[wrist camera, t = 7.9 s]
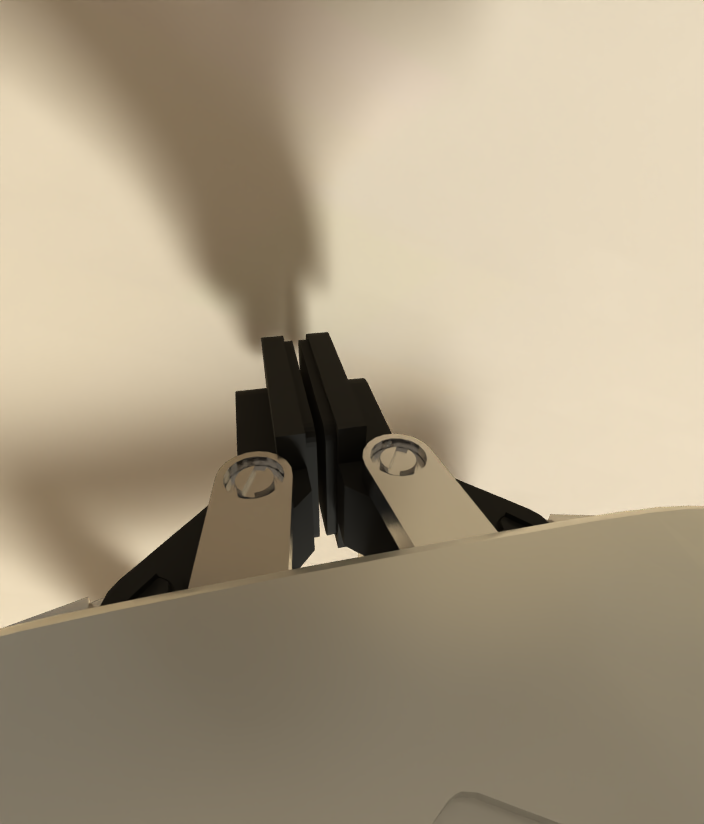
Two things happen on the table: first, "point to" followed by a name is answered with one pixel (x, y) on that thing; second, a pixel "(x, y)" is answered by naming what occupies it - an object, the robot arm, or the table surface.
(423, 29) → the table surface
